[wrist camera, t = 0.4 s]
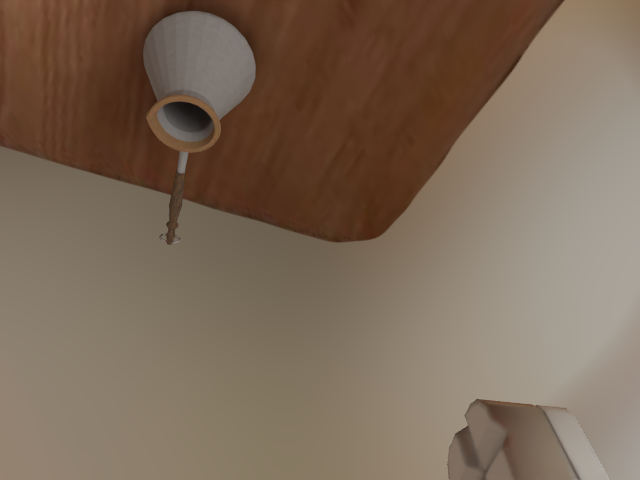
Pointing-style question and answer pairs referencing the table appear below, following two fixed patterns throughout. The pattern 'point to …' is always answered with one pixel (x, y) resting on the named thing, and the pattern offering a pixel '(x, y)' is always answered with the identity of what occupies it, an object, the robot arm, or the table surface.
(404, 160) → the table surface
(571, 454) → the robot arm
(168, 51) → the coffee pot
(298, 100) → the table surface
